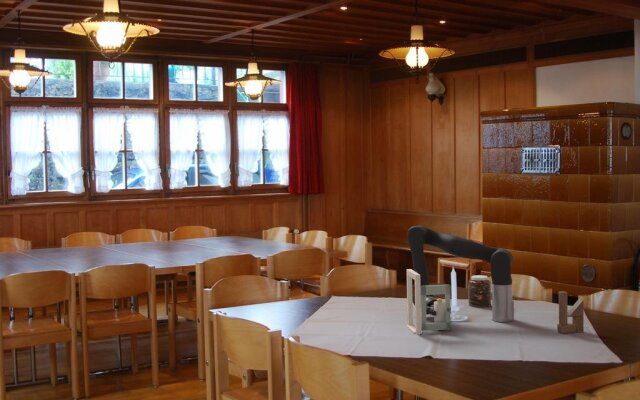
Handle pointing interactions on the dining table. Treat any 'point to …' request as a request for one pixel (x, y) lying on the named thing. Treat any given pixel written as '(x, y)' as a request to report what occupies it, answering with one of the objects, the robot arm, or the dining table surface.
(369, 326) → the dining table surface
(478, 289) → the jar
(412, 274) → the door frame
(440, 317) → the white candle
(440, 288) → the grey-green rectangular frame
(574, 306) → the wooden braced frame
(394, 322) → the dining table surface
